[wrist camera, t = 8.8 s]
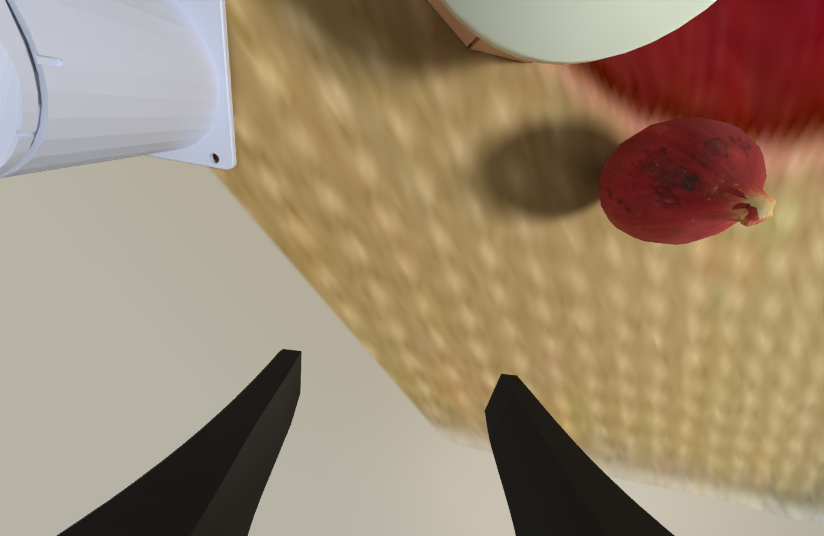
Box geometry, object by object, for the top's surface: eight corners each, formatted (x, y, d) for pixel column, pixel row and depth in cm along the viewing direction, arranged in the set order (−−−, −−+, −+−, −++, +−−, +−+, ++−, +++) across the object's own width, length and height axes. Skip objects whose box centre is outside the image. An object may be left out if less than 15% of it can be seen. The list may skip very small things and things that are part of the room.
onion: (551, 190, 18) (647, 240, 11) (621, 95, 16) (797, 81, 9) (618, 231, 20) (741, 298, 13) (691, 149, 17) (891, 174, 10)
